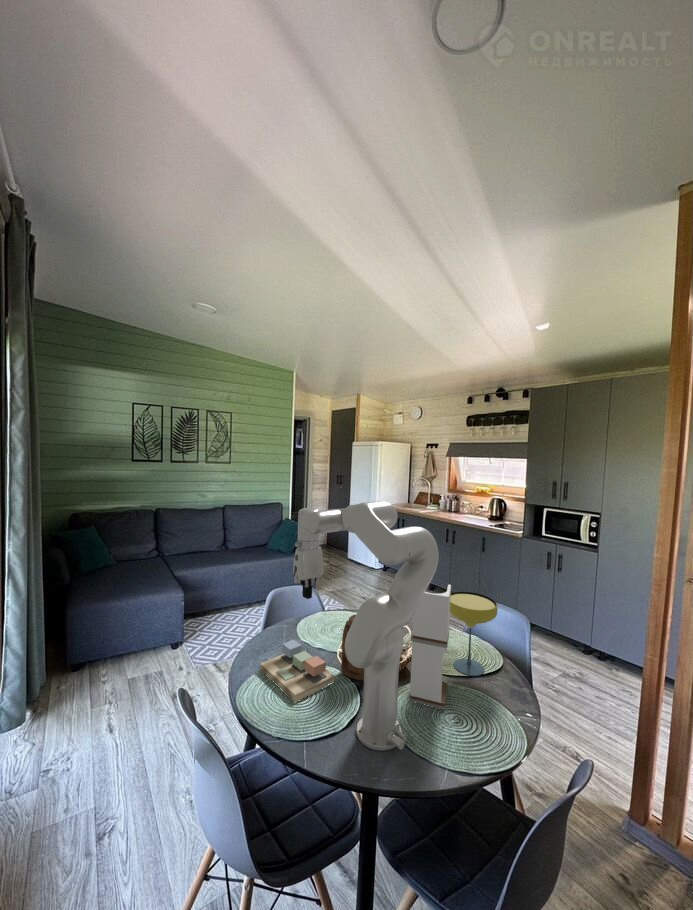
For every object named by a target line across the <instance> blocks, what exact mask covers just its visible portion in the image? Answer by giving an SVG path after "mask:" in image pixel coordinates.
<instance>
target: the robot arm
mask: <svg viewBox="0 0 693 910" xmlns="http://www.w3.org/2000/svg"><path fill="white" fill-rule="evenodd" d="M397 511H398V510H397V509H396V507H395V506H394V505H393V504H392V503H390V502H388V501H383V500H378V501H367V502H361V503H356V504H349V505H348V506H347V507H345V508H344V507H343V508H334V509H333V508H332V509H324V510H319V509H318V508H314V507H304V508H303V507H302V508H301V509H299V510H298V515H297V539H296V540H297V541H296V542H295V544H294V546H295V547H296V549H295V553H294V559H293V565H292V567H293V568H292V570H293V571H292V573H293V574H292V575H293V577H294V578H293V583H295V584H298V585H299V584H300V586H302V597H303V598H304V599H306V600H310V599H313V587H314V585H315V582H316V581H317V580H319V579H320V578H322V576H323V575H324V557H323V556H324V555H323V550H322V547H321V546H320V535H323V534H327V533H328V534H330V533H334V532H341V531H343V532H344V531H347V532H349V533H353V534H355V536H356V537H357V538H358V539H359V540H360V541H361V542H362V543H363V545H364V546H365V547H366V548H367V549H368V551H370V552H371V553H372V554H373V556H374V557H375V558H376V559H377V560H378V561H380V562H381V563H382V564H385V565H387V566H397V565H400V564H403V565H402V566H401V567H400V568H399V570H397V572H396V573H395V575H394V578H393V580H392V582H391V584H390V585H389V587H388V589H387V590H385V591H384V592H383V593H380V594H378V595H375V596H372V597H370V598H368V599H366V600H365V601H364V602H363V603H362V604H361V605H360V607H359V608H358V610H357V612H356V614H355V615H356V616H355V618H354V620H353V623H352V625H351V627H350V629H349V631H348V633H347V636H346V640H345V653H346V656H347V659H348V661H349V662H350V663H351V664H352V665H353V666H355V667H357V668H365V669H364V680H363V692H362V693H363V697H362V717H361V718H360V719H359V720H358V721H357V724H356V732H355V733H356V736H357V738H358V740H359V741H360V742H361V744H362V745H363V746H366V747H367V748H368V749H371V750H374V751H389V750H392V749H394V748H398V749H399V750H403V749H404V747H405V744H406V743H405V741H406V740H407V735H406V733H404V732H402V727H401V725H400V724H401V723H400V721H398V720H397V718H398V717H397V716H398V697H399V695H398V694H399V693H398V691H399V673H400V672H399V671H400V669H399V668H400V661H401V657H402V656H401V655H402V651H403V646H404V633H403V629H402V628H404V627H406V626H407V625H408V624H409V623H410V621H411V620H412V619H413V614H414V612H415V610H416V609H417V607H418V605H419V603H420V601H421V599H422V597H423V595H424V593H425V592H427V591H426V590H427V589H428V587H429V585H430V583H431V582H432V580H433V578H434V577H435V576H434V575H435V573H436V571H437V567H438V564H439V560H440V557H439V556H440V555H439V554H440V553H439V548H438V544H437V541H436V539H435V537H434V536H433V534H432V533H431V532H430V531H429V530H428V529H427V528H424V527H421V526H406V527H401V528H395V529H391V528H393V527H394V526H395V525H396V523H397V521H398V512H397Z"/></svg>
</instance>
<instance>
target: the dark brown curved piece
mask: <svg viewBox="0 0 693 910" xmlns="http://www.w3.org/2000/svg"><path fill="white" fill-rule="evenodd" d="M355 616H356V614H352V615H350V616H349V618H348V620H346V623H345V624H344V626H343V627H344V628H343V632H342V640H341V642H342V643H341V659H340V660H341V663H340V667H341V668H340V669H341V674H342V675H344V676H346V677H348V678H349V679H353V680H356V681H364V669H365V668H357V667H355V666H353V665H352V664H351V663H350V662H349V661H348V659H347V656H346V653H345V640H346V636H347V633H348V631H349V629H350V627H351V625H352V623H353V620H354V618H355Z"/></svg>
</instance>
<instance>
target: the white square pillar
mask: <svg viewBox="0 0 693 910" xmlns="http://www.w3.org/2000/svg"><path fill="white" fill-rule="evenodd" d="M451 593H452V585H451V584H448V585H447V590H446V591H445V592H441V593H434V592H433V593H432V592H427V591H425V593H424V595H423V597H422V599H421V601H420V603H419V605H418V607H417V609H416V610H415V612H414V614H413V616H412V635H411V637H412V639H411V664H410V688H409V689H410V690H409V692H410V693H409V702H410V701H411V702H410V703H413V702H414V703H413V704H416V703H420V704H425V705H429V706H433V707H436V708H441V709H445V708H446V702H445V701H447V693H446V692H448V682H446V681H443V665H444V664H443V663H445V654H447V653H448V646H449V637H450V622H451V621H450V619H451V618H450V617H451V613H450V597H451ZM415 702H416V703H415ZM420 704H419V705H420ZM436 708H435V709H436ZM445 710H446V709H445Z"/></svg>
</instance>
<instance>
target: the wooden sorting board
mask: <svg viewBox="0 0 693 910" xmlns="http://www.w3.org/2000/svg"><path fill="white" fill-rule="evenodd" d="M301 652H303V651H302V650H301ZM259 671H260V672H261V673H262V672H263V673H264V674H265V675H267V676H268V677H269V678H270V679H271V680H272V681H274V683H276V684H277V685H278V686H279V687H280V688H281V689H282V690H283V691H284V692H285V693H286V694H287V695H288V696H289V697H290V698H291V699H292V700H293V701H294V702H293V701H292V700H291V699H290V698H289V697H288V696H287V695H286V694H285V693H284V692H283V691H282V690H281V691H282V692H283V693H284V694H285V695H286V696H287V697H288V698H289V699H290V700H291V701H292V702H293V703H295V702H297V701H299V700H301V699H302V700H304V699H306V698H308V697H310V696H312V695H314V694H316V693H318V692H320V691H321V690H320V689H322V688H324V687H325V686H327V685H328V684H330V683H332V682H334V681H336V675H335V674H333V673H332V672H330V671H329V670H328V669H326V671H325V672H322V673H320V674H318V675H316V676H314V677H313V676H312V675H311V674H310V673H308V672H307V671H306V670H305V669H304V670H300V669H298V668H297V667H296V666H295V665H293V657H291V658H289V657H288V656H287V655H285V654H284V653H283V654H281V655H278V656H276V657H273V658H270V659H268V660H266V661H263V662H261V663H260V664H259ZM263 673H262V674H263ZM264 674H263V675H264ZM265 675H264V676H265ZM268 677H267V678H268ZM269 678H268V679H269ZM270 679H269V680H270ZM271 680H270V681H271ZM272 681H271V682H272ZM274 683H273V684H274ZM324 689H325V688H324ZM319 690H320V691H319ZM322 690H323V689H322ZM317 691H318V692H317ZM315 692H316V693H315ZM313 693H314V694H313ZM311 694H312V695H311ZM309 695H310V696H309ZM307 696H308V697H307ZM305 697H306V698H305ZM303 698H304V699H303ZM302 700H301V701H302ZM299 702H300V701H299ZM297 703H298V702H297Z"/></svg>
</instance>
